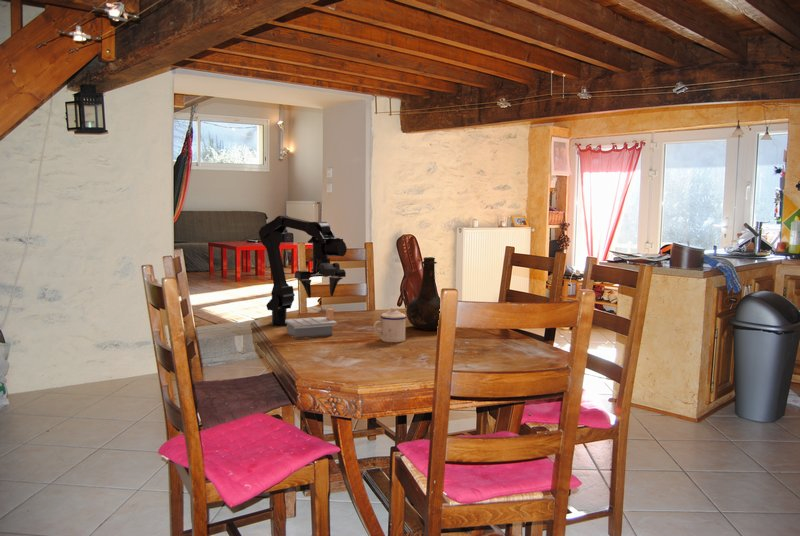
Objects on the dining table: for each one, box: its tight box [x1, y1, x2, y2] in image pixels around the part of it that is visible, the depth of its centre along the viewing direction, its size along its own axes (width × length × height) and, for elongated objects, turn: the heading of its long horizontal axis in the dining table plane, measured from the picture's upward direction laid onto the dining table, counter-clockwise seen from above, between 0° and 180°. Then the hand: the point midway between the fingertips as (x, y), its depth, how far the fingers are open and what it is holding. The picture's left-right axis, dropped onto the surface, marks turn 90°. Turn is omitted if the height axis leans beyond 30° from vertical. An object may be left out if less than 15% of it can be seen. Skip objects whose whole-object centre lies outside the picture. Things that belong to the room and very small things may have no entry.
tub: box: [286, 323, 333, 339], centre depth 234 cm, size 10×14×4 cm
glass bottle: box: [405, 256, 441, 331], centre depth 249 cm, size 18×18×28 cm
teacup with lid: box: [373, 307, 407, 343], centre depth 227 cm, size 12×9×12 cm
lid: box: [285, 307, 338, 329], centre depth 234 cm, size 12×16×5 cm
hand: (320, 296), depth 240 cm, fingers open, 9 cm apart
